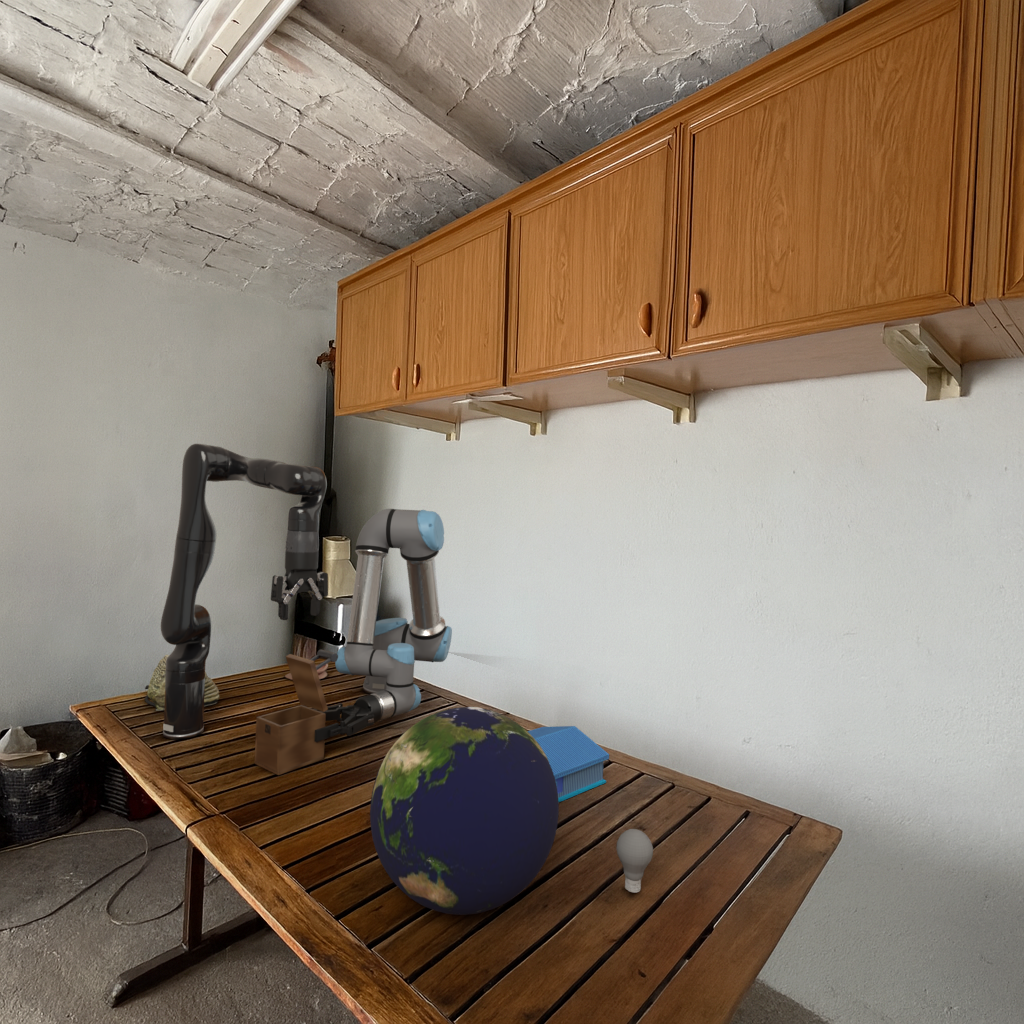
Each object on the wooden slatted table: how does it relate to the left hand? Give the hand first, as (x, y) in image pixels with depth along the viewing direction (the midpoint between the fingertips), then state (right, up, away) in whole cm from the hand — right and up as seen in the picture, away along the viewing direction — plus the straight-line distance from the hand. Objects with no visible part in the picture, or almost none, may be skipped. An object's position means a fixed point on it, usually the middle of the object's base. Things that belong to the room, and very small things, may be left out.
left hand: (299, 617), depth 151 cm
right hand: (0, -28, +2) cm, 28 cm away
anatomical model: (-21, -32, +69) cm, 79 cm away
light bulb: (+71, -38, -45) cm, 92 cm away
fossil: (-45, -32, +34) cm, 65 cm away
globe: (+42, -37, -49) cm, 75 cm away
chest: (-2, -34, 0) cm, 34 cm away
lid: (0, -16, +2) cm, 17 cm away
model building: (+52, -37, -11) cm, 65 cm away
